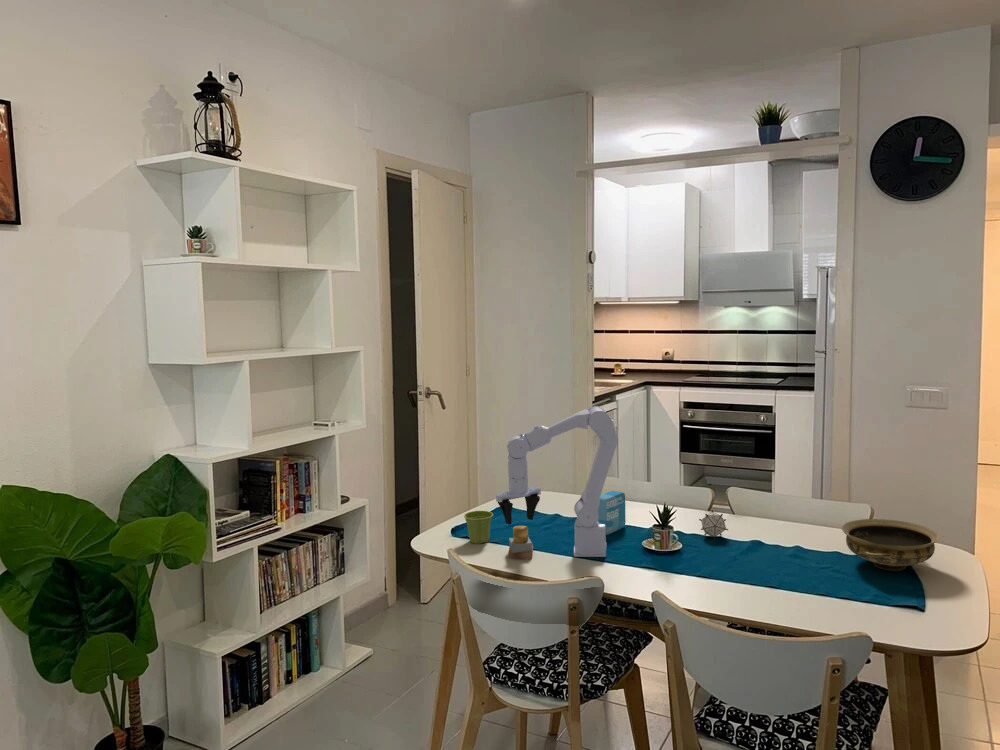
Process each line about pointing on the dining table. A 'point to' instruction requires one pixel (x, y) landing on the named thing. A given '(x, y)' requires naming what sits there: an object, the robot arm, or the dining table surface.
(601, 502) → the data package
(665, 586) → the dining table surface
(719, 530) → the grey spiked ball
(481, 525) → the plant pot
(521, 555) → the walnut base block
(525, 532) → the golden brown cylinder
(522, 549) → the grey painted block
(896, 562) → the ceramic bowl
